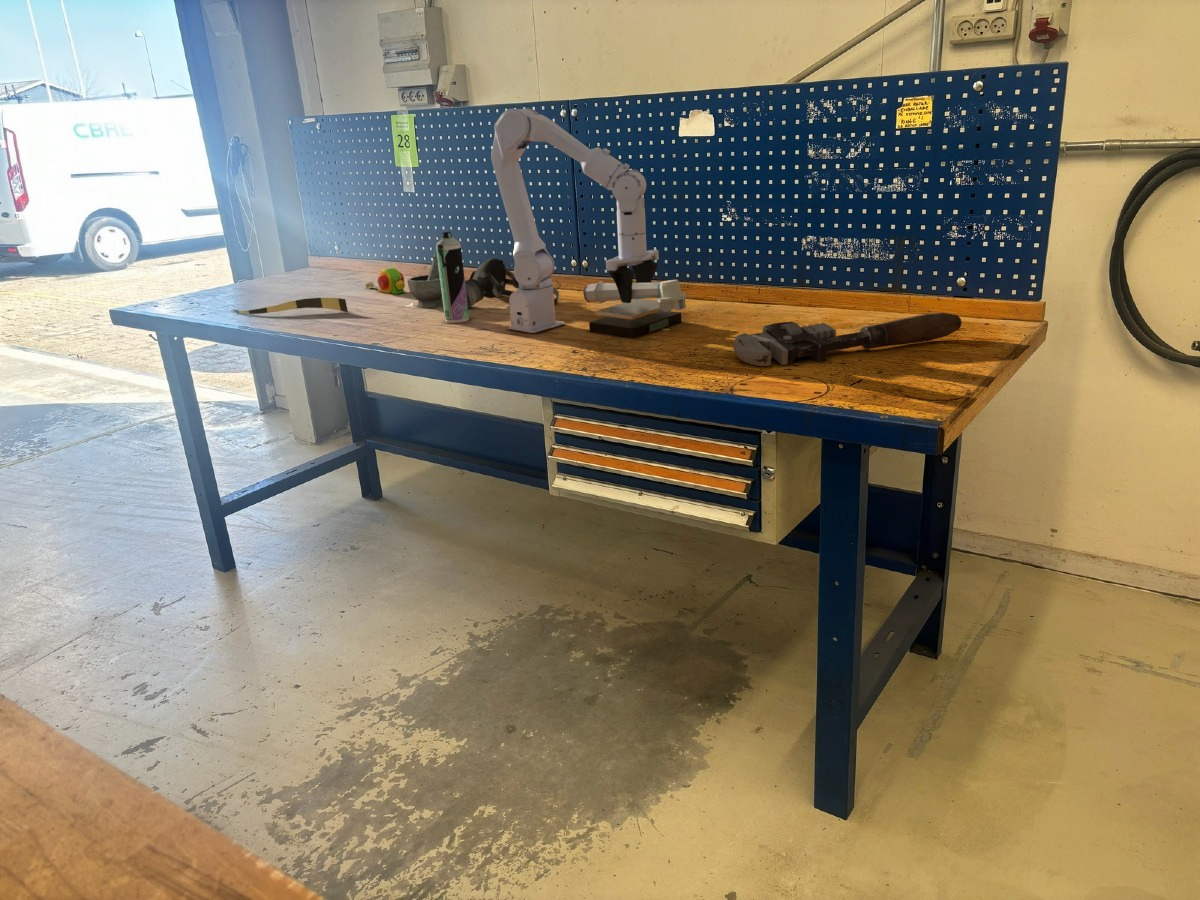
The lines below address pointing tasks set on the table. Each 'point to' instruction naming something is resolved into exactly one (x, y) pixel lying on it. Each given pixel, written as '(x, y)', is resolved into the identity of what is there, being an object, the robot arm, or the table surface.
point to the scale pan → (631, 309)
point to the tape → (303, 305)
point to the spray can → (452, 279)
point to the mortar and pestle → (427, 287)
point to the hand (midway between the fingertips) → (634, 300)
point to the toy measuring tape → (389, 281)
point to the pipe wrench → (837, 338)
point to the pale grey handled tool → (640, 293)
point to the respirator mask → (491, 282)
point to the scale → (635, 324)
